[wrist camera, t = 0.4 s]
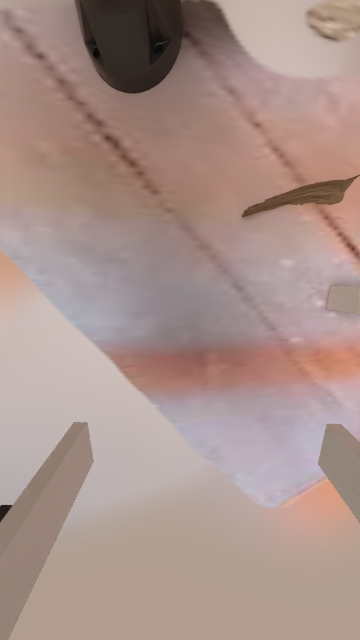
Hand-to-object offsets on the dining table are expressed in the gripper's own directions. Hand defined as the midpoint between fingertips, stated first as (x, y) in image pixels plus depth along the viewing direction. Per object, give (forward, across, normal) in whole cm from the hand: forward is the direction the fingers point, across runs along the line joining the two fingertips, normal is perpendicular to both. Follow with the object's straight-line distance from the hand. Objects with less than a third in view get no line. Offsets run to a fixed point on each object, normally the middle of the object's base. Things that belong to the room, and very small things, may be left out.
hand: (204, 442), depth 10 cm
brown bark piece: (+27, +17, +20) cm, 37 cm away
